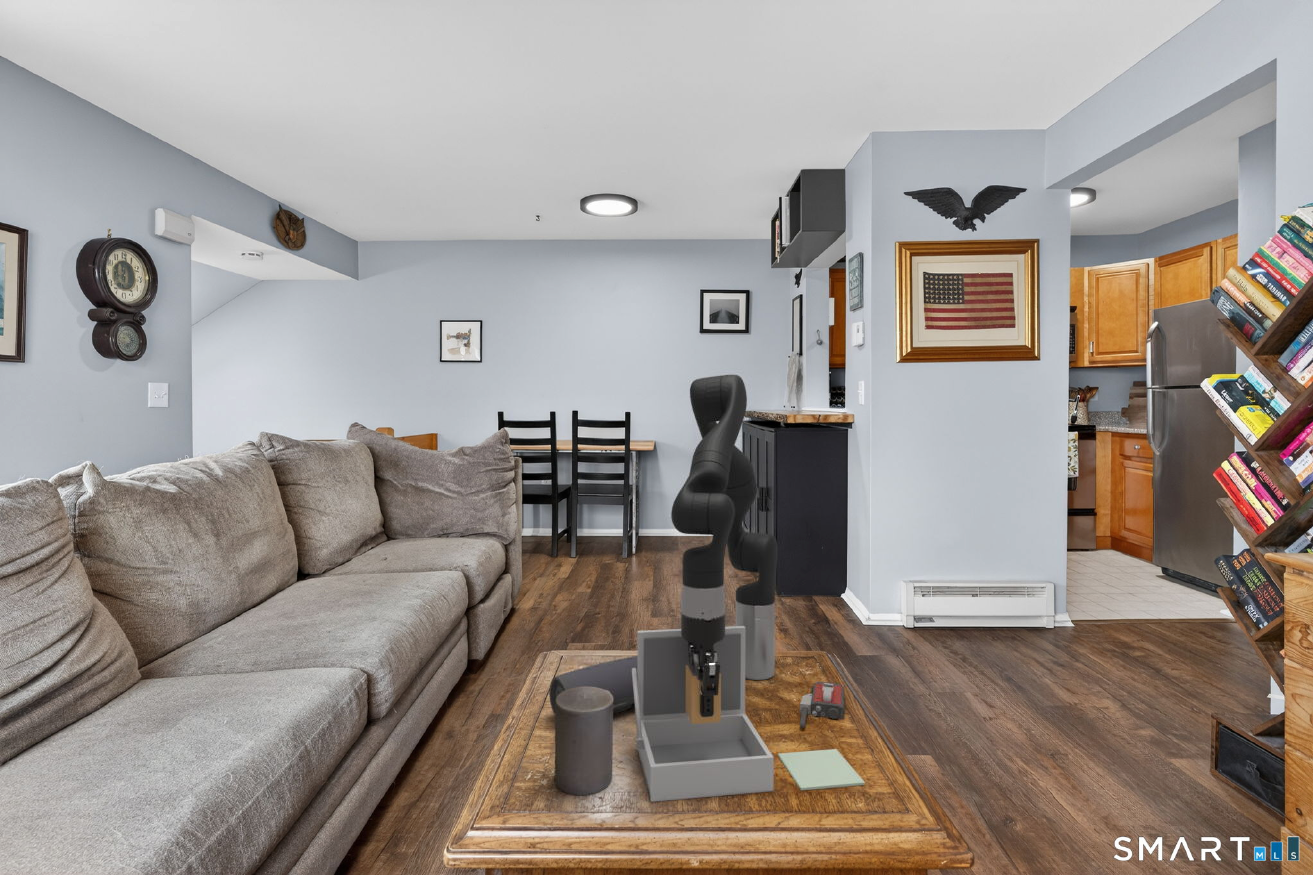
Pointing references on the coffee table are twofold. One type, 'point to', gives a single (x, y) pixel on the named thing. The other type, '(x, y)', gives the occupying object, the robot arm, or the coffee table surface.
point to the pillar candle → (583, 740)
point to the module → (694, 699)
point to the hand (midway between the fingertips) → (703, 707)
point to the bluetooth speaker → (600, 681)
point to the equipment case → (695, 752)
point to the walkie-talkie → (823, 702)
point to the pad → (820, 769)
